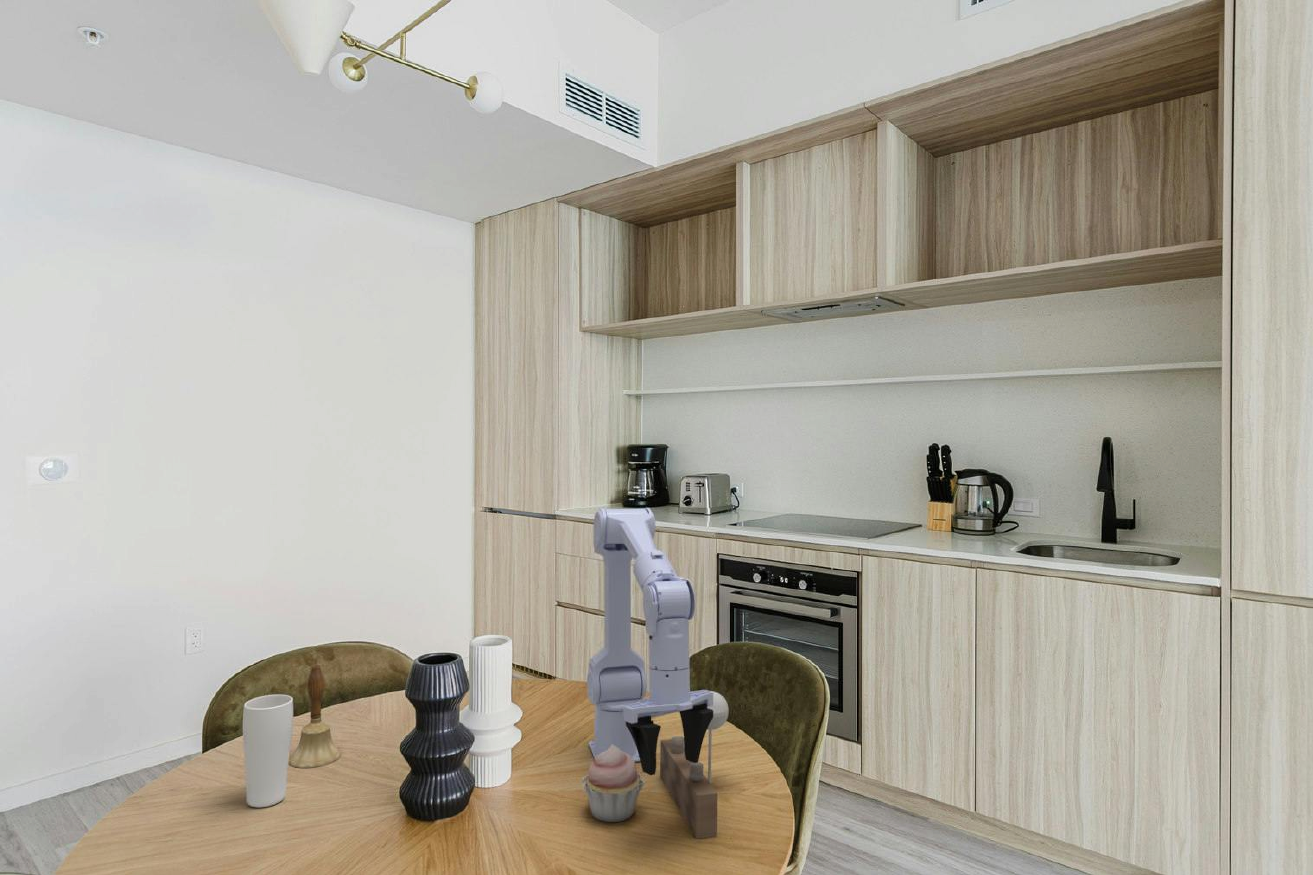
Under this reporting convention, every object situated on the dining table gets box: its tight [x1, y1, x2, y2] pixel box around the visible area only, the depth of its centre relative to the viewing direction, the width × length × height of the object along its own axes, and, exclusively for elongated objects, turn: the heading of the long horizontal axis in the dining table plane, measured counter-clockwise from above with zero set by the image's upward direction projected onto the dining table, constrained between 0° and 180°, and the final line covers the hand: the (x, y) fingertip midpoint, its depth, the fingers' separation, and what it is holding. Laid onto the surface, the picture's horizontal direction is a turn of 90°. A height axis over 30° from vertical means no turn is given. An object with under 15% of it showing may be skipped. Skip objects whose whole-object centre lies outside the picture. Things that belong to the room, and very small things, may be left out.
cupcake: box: [581, 744, 645, 823], centre depth 109 cm, size 9×9×10 cm
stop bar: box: [659, 735, 718, 840], centre depth 112 cm, size 20×3×8 cm, turn 14°
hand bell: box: [288, 664, 342, 769], centre depth 126 cm, size 8×8×16 cm
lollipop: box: [706, 690, 730, 785], centre depth 118 cm, size 6×6×15 cm
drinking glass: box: [242, 693, 294, 808], centre depth 111 cm, size 7×7×15 cm
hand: (670, 766), depth 102 cm, fingers open, 7 cm apart
